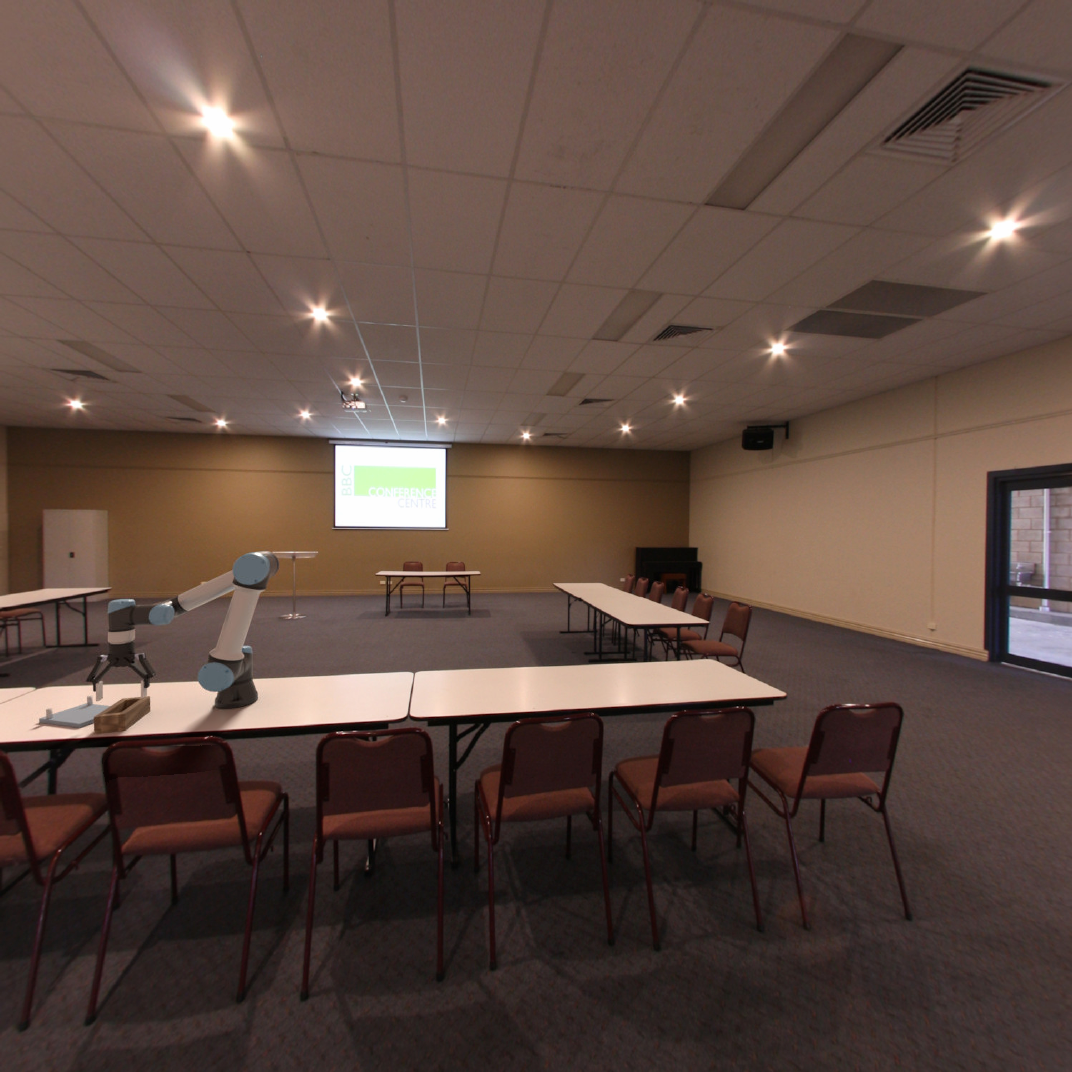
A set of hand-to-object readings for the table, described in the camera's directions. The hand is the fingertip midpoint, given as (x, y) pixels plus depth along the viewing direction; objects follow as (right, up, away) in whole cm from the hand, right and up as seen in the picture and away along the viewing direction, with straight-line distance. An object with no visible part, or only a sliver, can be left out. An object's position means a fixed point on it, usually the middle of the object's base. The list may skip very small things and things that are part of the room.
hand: (121, 698), depth 173 cm
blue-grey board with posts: (-19, -9, +5) cm, 21 cm away
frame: (0, -9, 0) cm, 9 cm away
